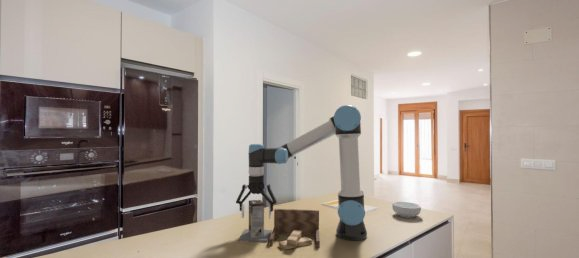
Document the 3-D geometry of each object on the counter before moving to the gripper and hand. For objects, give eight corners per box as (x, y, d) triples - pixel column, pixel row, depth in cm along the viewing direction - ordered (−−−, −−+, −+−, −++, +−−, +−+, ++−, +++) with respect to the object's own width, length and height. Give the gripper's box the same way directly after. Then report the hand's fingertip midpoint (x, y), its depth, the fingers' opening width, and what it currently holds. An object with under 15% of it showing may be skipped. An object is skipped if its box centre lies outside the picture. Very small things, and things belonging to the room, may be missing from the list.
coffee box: (248, 231, 146) (248, 200, 147) (260, 230, 148) (260, 199, 148) (251, 238, 138) (251, 204, 138) (264, 237, 140) (264, 203, 140)
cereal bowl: (424, 220, 171) (424, 208, 171) (395, 219, 173) (395, 207, 173) (416, 212, 187) (416, 201, 187) (389, 211, 190) (390, 200, 190)
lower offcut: (306, 241, 138) (307, 236, 138) (311, 245, 134) (311, 239, 134) (278, 247, 131) (278, 241, 131) (283, 251, 127) (283, 245, 127)
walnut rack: (318, 233, 147) (319, 210, 148) (319, 247, 130) (319, 221, 130) (274, 231, 149) (274, 208, 149) (269, 245, 131) (269, 219, 131)
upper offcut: (293, 235, 140) (293, 230, 140) (301, 236, 139) (301, 230, 139) (286, 245, 127) (286, 239, 127) (295, 246, 126) (295, 240, 126)
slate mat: (271, 231, 149) (271, 230, 149) (267, 242, 136) (267, 240, 136) (245, 230, 151) (245, 229, 151) (238, 240, 137) (238, 239, 137)
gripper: (281, 174, 146) (282, 215, 146) (233, 173, 148) (233, 214, 148) (280, 176, 138) (280, 220, 138) (229, 175, 140) (229, 219, 140)
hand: (256, 217), depth 143 cm, fingers open, 13 cm apart
